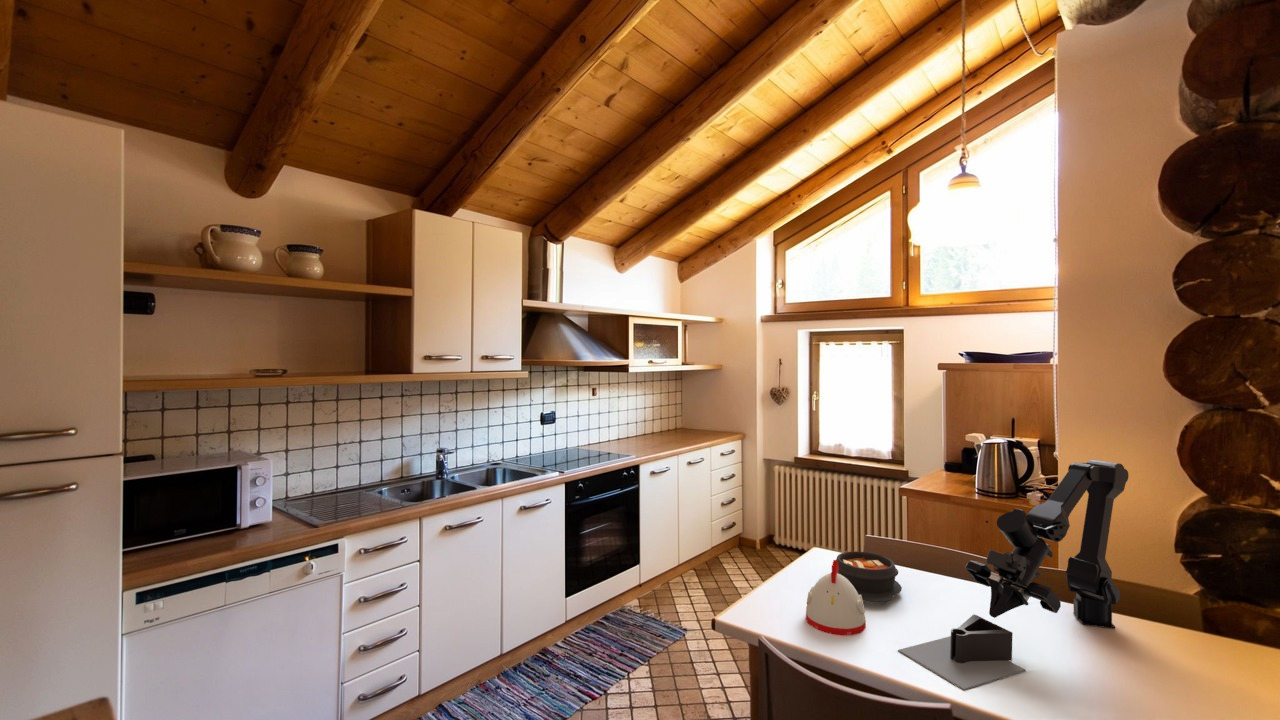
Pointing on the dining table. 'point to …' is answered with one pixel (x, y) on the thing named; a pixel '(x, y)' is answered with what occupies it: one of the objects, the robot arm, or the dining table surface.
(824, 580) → the kitchen timer
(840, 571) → the casserole
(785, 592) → the dining table surface
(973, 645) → the phone stand
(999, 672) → the mat
